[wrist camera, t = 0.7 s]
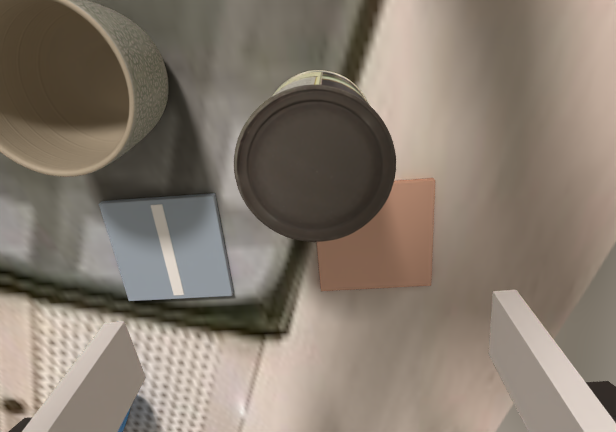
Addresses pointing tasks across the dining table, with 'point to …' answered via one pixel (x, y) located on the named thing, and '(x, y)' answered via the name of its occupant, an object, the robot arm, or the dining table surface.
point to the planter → (75, 85)
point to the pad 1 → (169, 246)
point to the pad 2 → (385, 244)
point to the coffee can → (315, 159)
